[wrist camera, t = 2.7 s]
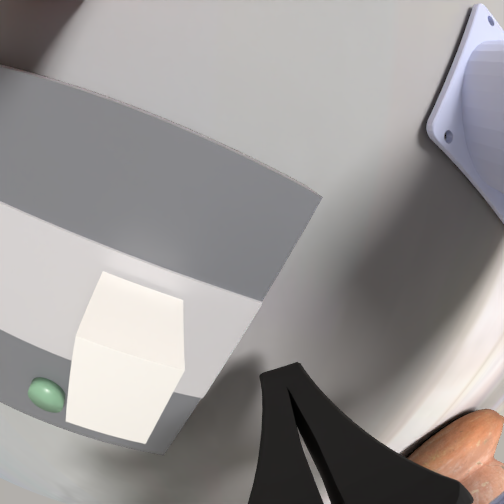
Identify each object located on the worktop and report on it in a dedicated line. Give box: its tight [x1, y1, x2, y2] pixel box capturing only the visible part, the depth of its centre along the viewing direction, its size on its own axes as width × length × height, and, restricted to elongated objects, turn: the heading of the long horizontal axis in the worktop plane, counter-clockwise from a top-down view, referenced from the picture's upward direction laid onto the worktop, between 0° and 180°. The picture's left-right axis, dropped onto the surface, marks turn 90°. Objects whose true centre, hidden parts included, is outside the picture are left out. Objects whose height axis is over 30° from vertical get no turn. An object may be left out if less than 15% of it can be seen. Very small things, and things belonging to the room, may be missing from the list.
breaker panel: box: [0, 65, 322, 455], centre depth 9 cm, size 12×14×2 cm
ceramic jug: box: [407, 409, 504, 504], centre depth 19 cm, size 18×14×14 cm
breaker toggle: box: [66, 271, 185, 444], centre depth 7 cm, size 2×4×3 cm, turn 152°
